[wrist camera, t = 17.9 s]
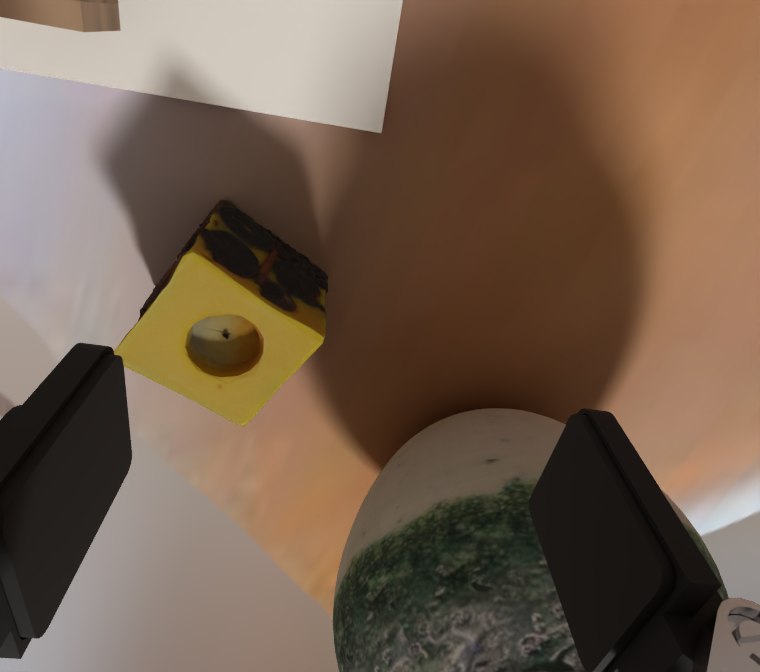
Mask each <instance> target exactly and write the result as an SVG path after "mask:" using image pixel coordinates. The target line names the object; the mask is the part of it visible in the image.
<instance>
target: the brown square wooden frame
mask: <svg viewBox="0 0 760 672" xmlns="http://www.w3.org/2000/svg"><path fill="white" fill-rule="evenodd" d="M0 17H3V18H9V19H14V20H19V21H25V22H30V23H36V24H41V25H47V26H52V27H58V28H63V29H69V30H74V31H80V32H102V31H121V30H120V17H119V5H118V0H0Z"/></svg>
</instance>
